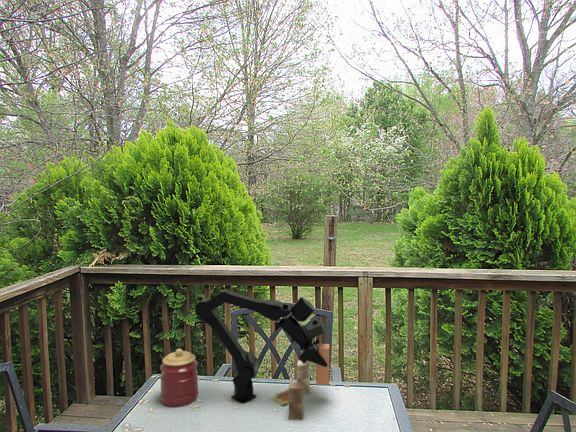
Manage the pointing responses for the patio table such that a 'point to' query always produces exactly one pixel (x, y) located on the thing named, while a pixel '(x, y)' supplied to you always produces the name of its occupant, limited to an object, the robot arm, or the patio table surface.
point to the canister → (179, 379)
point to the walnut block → (296, 401)
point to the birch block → (304, 375)
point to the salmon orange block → (322, 371)
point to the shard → (282, 398)
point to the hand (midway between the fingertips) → (326, 363)
